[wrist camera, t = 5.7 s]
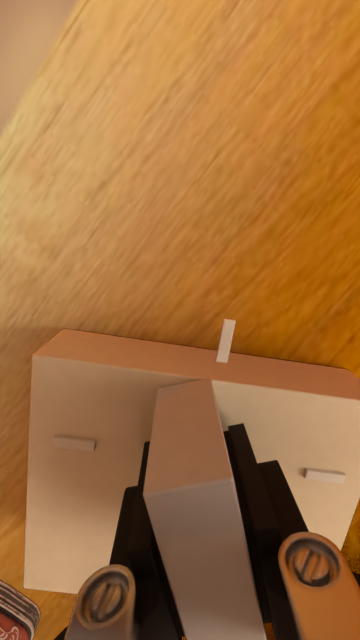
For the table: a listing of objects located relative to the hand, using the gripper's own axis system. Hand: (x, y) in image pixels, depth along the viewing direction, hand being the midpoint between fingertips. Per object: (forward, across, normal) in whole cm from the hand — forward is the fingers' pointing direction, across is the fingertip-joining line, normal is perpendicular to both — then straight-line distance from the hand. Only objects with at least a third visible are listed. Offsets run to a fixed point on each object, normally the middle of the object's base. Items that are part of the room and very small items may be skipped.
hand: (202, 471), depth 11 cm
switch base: (+4, 0, +1) cm, 4 cm away
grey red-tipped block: (0, 0, 0) cm, 0 cm away
